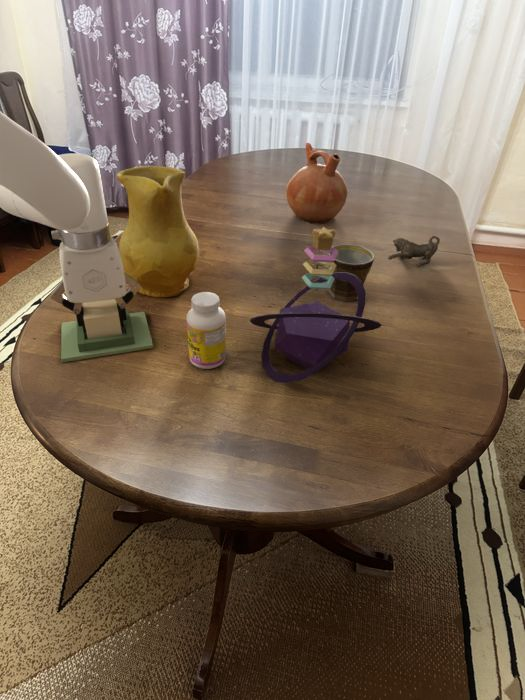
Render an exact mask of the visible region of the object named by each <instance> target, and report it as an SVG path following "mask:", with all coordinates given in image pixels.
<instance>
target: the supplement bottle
mask: <svg viewBox="0 0 525 700" xmlns="http://www.w3.org/2000/svg"><path fill="white" fill-rule="evenodd" d="M220 303H221V302H220V297H219V295H217V294H216V293H214V292H212V291H211V292H210V291H201V292H198V293H195V294H194V295H192V297H191V299H190V304H191V305H190V306H191V308H190V309H189V310H188V312H187V314H186V328H187V329H186V330H187V344H188V359H189V361H190V363H191V364H192V365H193V366H195V367H196V368H198V369H203V370H210V369H215V368H218V367H219V366H221V365H222V364H224V362H225V360H226V354H227V353H226V352H227V350H226V349H227V347H226V343H227V342H226V339H227V337H226V336H227V335H226V313H225V311H224V310H223V308H222V307H220V305H221V304H220Z"/></svg>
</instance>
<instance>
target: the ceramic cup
mask: <svg viewBox="0 0 525 700" xmlns="http://www.w3.org/2000/svg"><path fill="white" fill-rule="evenodd" d="M332 248H335V249H336V250H337V251H338V254H337V256H336V258H335V260H334V261H333V262H334V263H335V264H336V267H335V270H334V272H333V273H336V272H348V273H351V274H354V275H356V276H357V277H358V278H359V279H360V280H361V281H362V283H363V286H365V285H364V284H365V282H366V280H367V277H368V275H369V273H370V272H371V270H372V269H371V268H372V266H373V263H374V261H375V253H373V252H372V251H371V250H369V249H368V248H366V247H364V246H360V245H357V244H345V243H344V244H337V245H333V246H332ZM330 255H331V254H330V253H327V256H330ZM319 266H320V264H316V265H315V269H319ZM327 270H329V267H327ZM328 290H329V294H330V296H331V297H332V298H333V299H335V300H338V301H342V302H352V301H356V300H358V296H357V292H356V289H355V287H354V286H353V285H352V284H351V283H350V282H348V281H345V280H342V279H338V280H334V281H333V283H332V285H331V288H329V289H328Z"/></svg>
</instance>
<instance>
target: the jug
mask: <svg viewBox="0 0 525 700" xmlns="http://www.w3.org/2000/svg"><path fill="white" fill-rule="evenodd" d="M305 154H306V162H307V163H306V166H304V167H302V168H300V169H299V170H297V171H296V173H294V175H293V176H292V177H291V178H290V180H289V181H288V183H287V185H286V202H287V204H288V206H289V208H290V209H291V211H292V212H293V214H294V215H295V217H297V219H299V220H300V221H303V222H305V223H309V224H325V223H330V222H331V221H332V220H333V219H334V218H335V217H336V216H337V215H338V214H339V213H340V211H342V209H343V207H345V204H346V201H347V198H348V187H347V185H346V182H345V179H344V178H343V176H342V175H341V174H340V172H339V171H338V170H337V168H338V165H339V163H340V161H341V157H340V156H339V154H338V153H332V154H331V155H330V154H329V153H327V152H326V151H325V150H317V149H315V148H313V145H312V144H311V142H306V143H305ZM319 157H321V158H322V159H323V161H324V164H322V163H319V162H318V158H319Z"/></svg>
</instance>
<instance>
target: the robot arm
mask: <svg viewBox="0 0 525 700" xmlns="http://www.w3.org/2000/svg"><path fill="white" fill-rule="evenodd" d="M106 206H107V205H106V200H105V195H104V187H103V181H102V176H101V170H100V166H99V162H98V161H97V159H95V158H94V157H92V156H91V155H89V154H85V153H76V152H75V153H74V152H73V153H62V154H57V153H56V152H55V151H54V150H52V148H51V147H49V146H48V145H47V144H46V143H45V142H43V141H42V140H40V139H39V138H38V137H37V136H35V135H34V134H33V133H32V132H30V131H29V130H27V129H26V128H24V127H23V126H21V125H20V124H18V123H17V122H16V121H14V120H13V119H11V118H10V117H9V116H7V115H6V114H5V113H3V112H2V111H0V209H1V210H3V211H4V212H6V213H8V214H10V215H12V216H15V217H18V218H22V219H24V220H28V221H31V222H34V223H35V222H36V223H38V224H41V225H43V226H47V227H50V228H53V229H55V230H51V238H52V240H58V241H59V240H60V244H59V249H58V253H59V256H58V257H59V265H60V272H61V277H62V279H61V280H60V281H59V283H58V284H57V285H56V286H55V288H54V289H52V291H51V292H50V298H51V300H53V301H55V302H57V303H58V304H61V305H62V306H63V307H64V308H66V309H67V310H69V311H71V312H72V313H73V314H74V315H75V317H76V321H77V322H78V326H79V327H80V326H82V327H83V331H84V332H86V327H85V323H84V316H83V314H84V311H83V303H86V302H94V301H102V300H110V299H115V300H116V302H117V309H118V313H119V319H120V325H121V327H124V322H123V321H124V320H127V316H126V310H125V309H127V305H128V304H129V303H130V302H131V301H132V299H134V296H135V295H137V293H139V292H138V291H139V290H140V289H141V284H140V283H139V282H138V281H137V280H135V279H134V278H132V277H131V276H130V275H128V274H127V273H125V271H124V269H123V265H122V260H121V256H120V252H119V245H118V244H117V241H116V239H115V238H114V237H113V236H111V231H110V225H109V220H108V214H107V207H106ZM127 285H128V286H129V288H127ZM64 293H65V295H66V296H65V295H64Z"/></svg>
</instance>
